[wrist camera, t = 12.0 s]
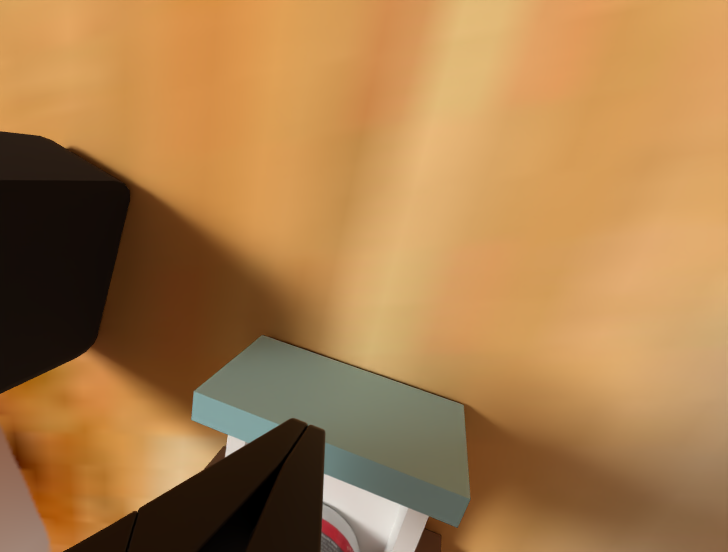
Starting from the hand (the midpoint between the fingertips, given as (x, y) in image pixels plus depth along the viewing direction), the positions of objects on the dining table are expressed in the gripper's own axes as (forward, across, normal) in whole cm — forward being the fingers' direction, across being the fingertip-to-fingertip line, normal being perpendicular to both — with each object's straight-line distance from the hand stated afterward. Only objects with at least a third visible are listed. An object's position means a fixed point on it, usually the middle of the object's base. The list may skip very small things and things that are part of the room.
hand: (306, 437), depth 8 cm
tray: (+7, 0, +8) cm, 11 cm away
